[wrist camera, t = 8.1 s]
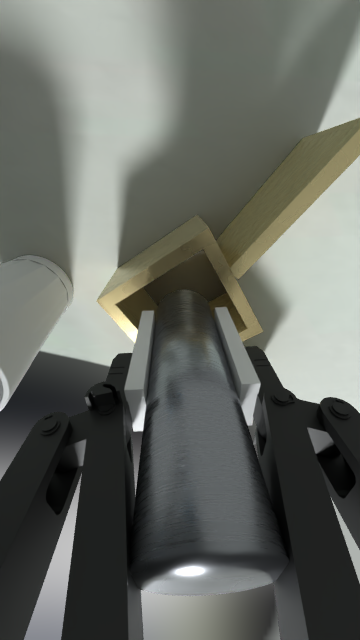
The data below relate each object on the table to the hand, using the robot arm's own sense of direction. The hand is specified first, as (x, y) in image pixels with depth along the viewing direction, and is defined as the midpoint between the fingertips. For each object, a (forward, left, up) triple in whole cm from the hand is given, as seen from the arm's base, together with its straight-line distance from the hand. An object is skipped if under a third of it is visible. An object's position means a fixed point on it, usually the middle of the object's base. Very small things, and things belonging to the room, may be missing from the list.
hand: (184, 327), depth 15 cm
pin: (0, 0, -2) cm, 2 cm away
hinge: (+5, +5, -8) cm, 11 cm away
